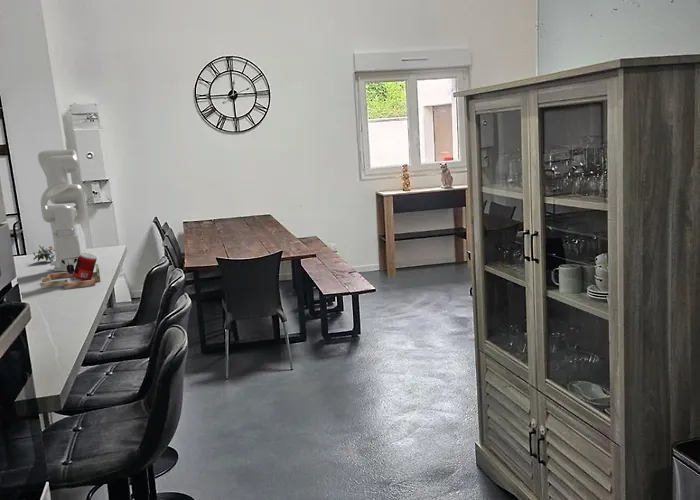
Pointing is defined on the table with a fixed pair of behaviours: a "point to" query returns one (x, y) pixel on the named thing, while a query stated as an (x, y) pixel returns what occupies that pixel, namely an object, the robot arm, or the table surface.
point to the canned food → (85, 266)
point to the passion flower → (45, 253)
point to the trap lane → (48, 283)
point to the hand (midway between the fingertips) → (71, 273)
